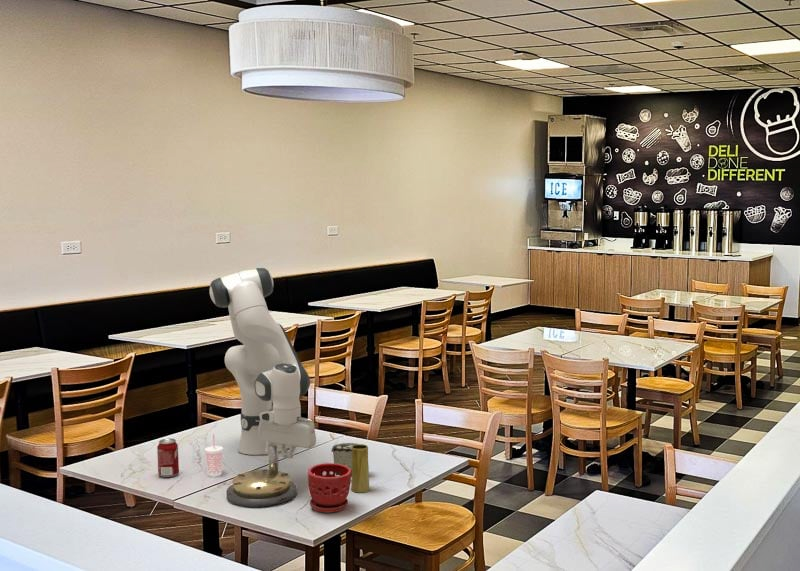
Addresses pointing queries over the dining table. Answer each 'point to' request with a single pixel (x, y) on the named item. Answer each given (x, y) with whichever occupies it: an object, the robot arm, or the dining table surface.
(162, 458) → the soda can
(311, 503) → the plant pot
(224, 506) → the dining table surface
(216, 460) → the beverage cup
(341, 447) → the food container
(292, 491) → the grey round ring
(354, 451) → the vase
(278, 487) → the tan disc with rod
